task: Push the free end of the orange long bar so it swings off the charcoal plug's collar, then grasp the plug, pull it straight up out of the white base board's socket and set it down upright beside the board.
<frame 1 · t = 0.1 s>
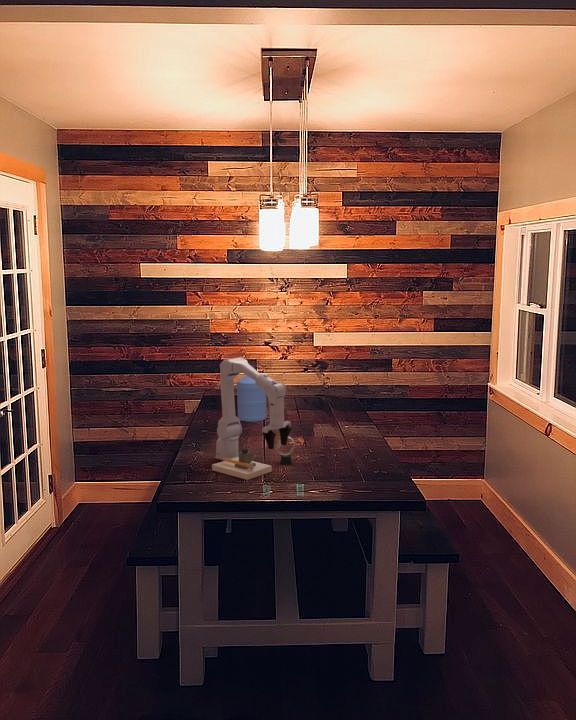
hand: (277, 446, 277), 10 cm above the table, tool pointing down, fingers open, 7 cm apart
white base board: (241, 470, 279), on the table
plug: (245, 471, 278), resting in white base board
orange long bar: (238, 462, 276), point 4 cm above the table, hinge at 0.0°
watch: (285, 462, 290), on the table
water jug: (252, 419, 370), on the table
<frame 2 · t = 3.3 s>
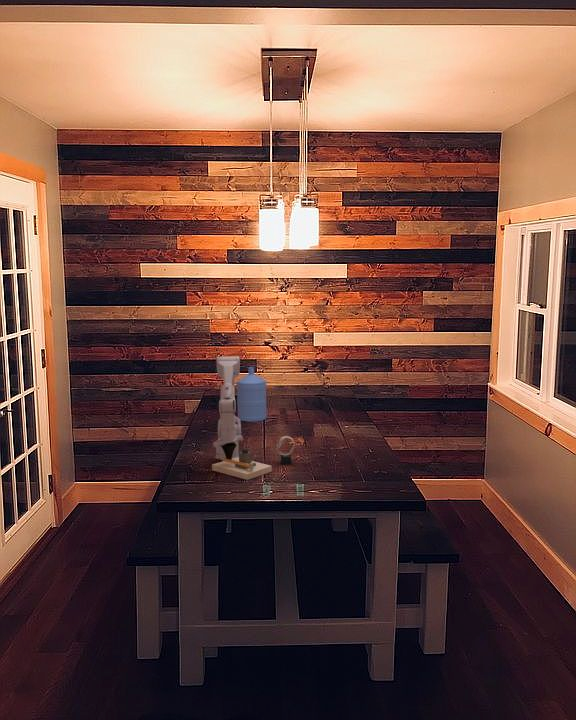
hand: (228, 460, 280), 4 cm above the table, tool pointing down, fingers closed, pressing on orange long bar
orange long bar: (237, 462, 276), point 4 cm above the table, hinge at 1.5°, touching gripper
everything else where it was.
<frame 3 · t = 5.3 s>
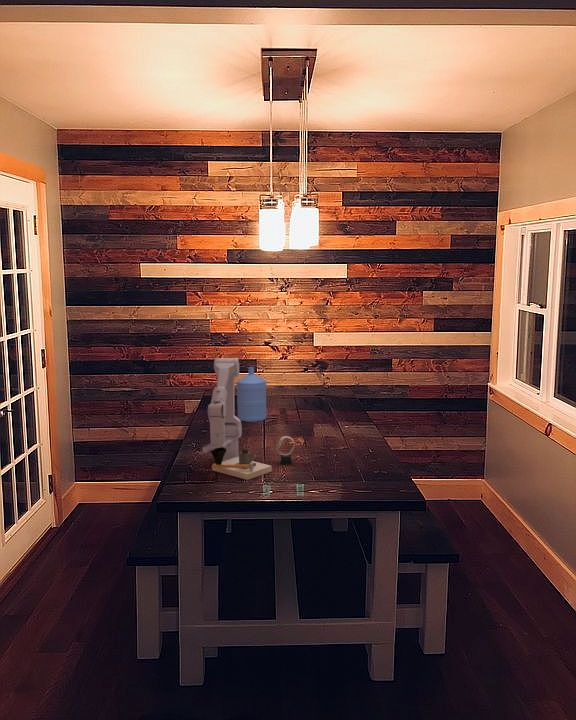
hand: (218, 466, 273), 4 cm above the table, tool pointing down, fingers closed, pressing on orange long bar
orange long bar: (232, 466, 271), point 4 cm above the table, hinge at 39.2°, touching gripper
everything else where it was.
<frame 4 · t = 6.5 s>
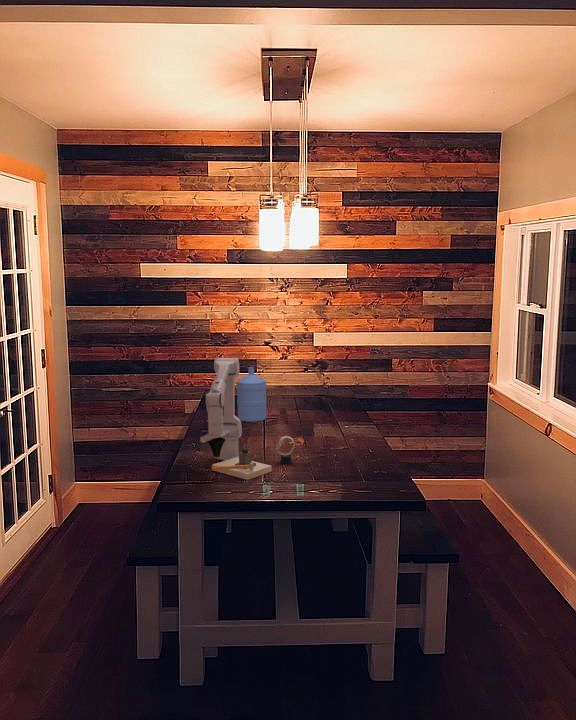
hand: (216, 456, 270), 8 cm above the table, tool pointing down, fingers closed
orange long bar: (232, 467, 270), point 4 cm above the table, hinge at 51.2°
everything else where it was.
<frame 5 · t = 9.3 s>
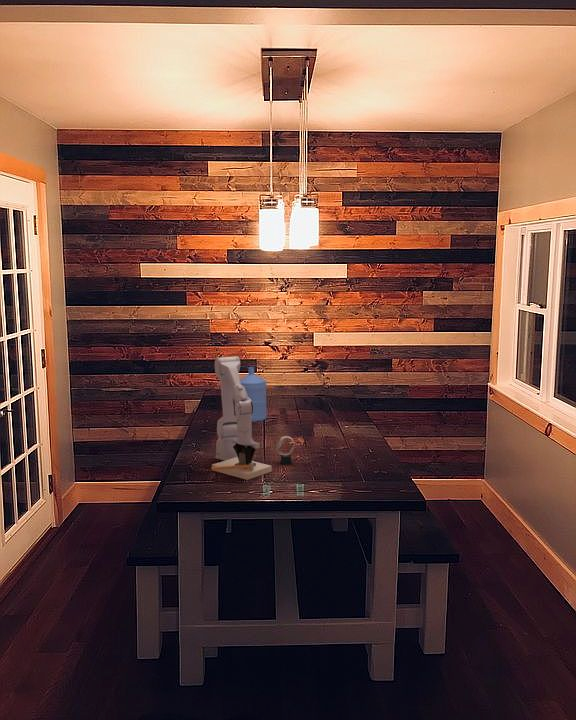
hand: (245, 463, 277), 4 cm above the table, tool pointing down, fingers closed on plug, 4 cm apart
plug: (245, 471, 278), resting in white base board, touching gripper
everything else where it was.
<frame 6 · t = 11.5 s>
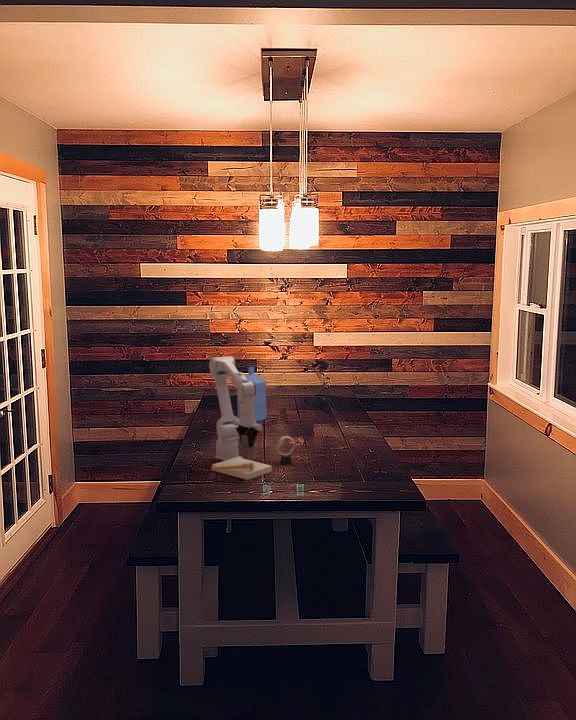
hand: (247, 444, 279), 10 cm above the table, tool pointing down, fingers closed on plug, 4 cm apart
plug: (248, 453, 279), point 7 cm above the table, touching gripper
everything else where it was.
when the fingers open (5 cm above the table, at t = 13.8 s): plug drops 1 cm, on the table.
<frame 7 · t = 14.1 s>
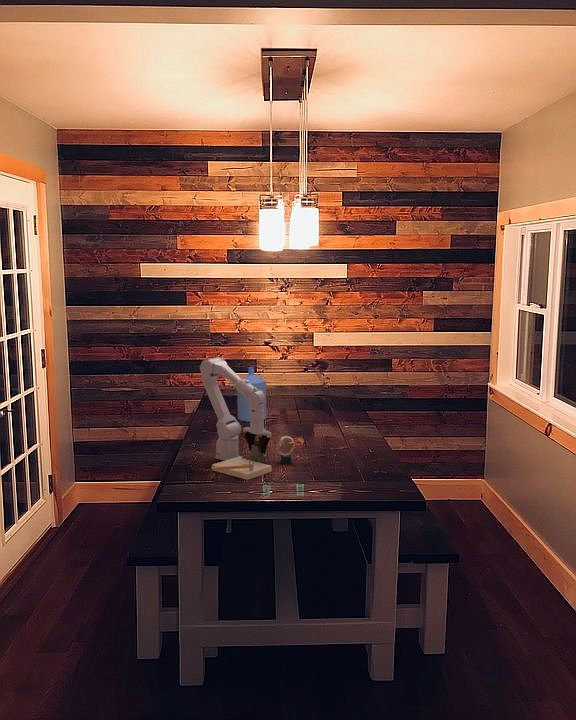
hand: (257, 451, 288), 5 cm above the table, tool pointing down, fingers open, 6 cm apart
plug: (257, 463, 289), on the table
everything else where it was.
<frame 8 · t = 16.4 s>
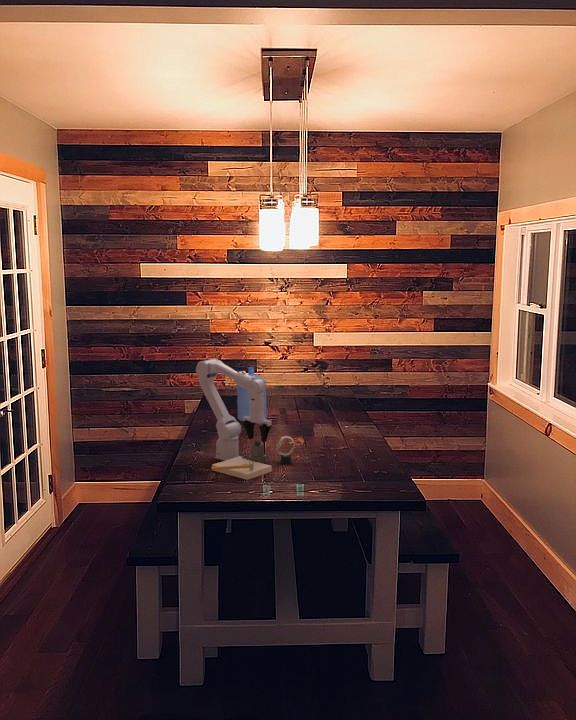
hand: (257, 440, 287), 10 cm above the table, tool pointing down, fingers open, 7 cm apart
nothing on the table moved.
at the end: orange long bar at +51° (first picture: +0°); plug inside the target area (0.4 cm from its centre), on the table; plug tilted 0° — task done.
